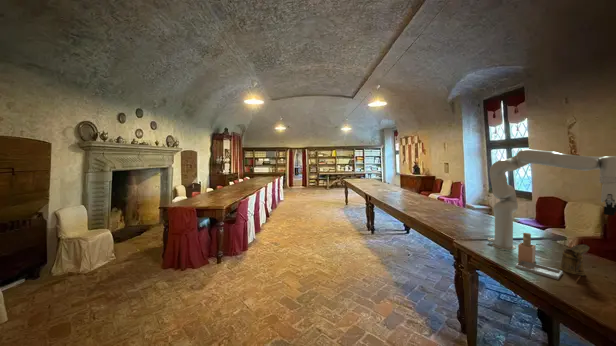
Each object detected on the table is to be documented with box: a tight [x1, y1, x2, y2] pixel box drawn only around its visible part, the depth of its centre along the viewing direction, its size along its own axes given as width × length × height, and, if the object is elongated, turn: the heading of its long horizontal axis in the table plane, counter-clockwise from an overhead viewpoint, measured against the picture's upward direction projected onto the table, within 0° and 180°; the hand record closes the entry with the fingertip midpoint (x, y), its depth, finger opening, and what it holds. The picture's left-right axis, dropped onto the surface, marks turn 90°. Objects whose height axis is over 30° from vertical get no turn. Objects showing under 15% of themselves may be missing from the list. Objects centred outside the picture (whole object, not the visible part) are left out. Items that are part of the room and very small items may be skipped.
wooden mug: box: [558, 243, 590, 277], centre depth 117 cm, size 9×14×18 cm, turn 154°
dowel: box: [522, 232, 532, 247], centre depth 132 cm, size 3×3×16 cm
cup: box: [517, 242, 537, 264], centre depth 132 cm, size 6×6×10 cm
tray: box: [514, 260, 564, 280], centre depth 121 cm, size 16×10×2 cm, turn 33°
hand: (610, 213), depth 117 cm, fingers open, 9 cm apart
